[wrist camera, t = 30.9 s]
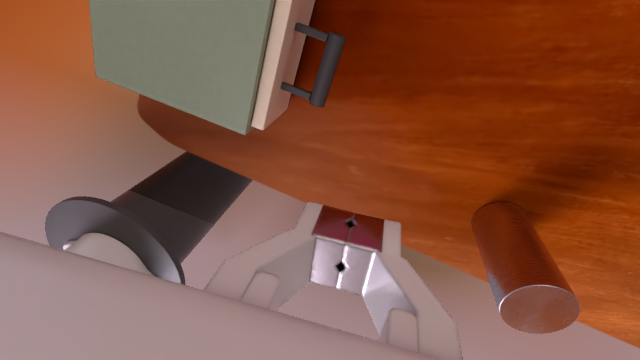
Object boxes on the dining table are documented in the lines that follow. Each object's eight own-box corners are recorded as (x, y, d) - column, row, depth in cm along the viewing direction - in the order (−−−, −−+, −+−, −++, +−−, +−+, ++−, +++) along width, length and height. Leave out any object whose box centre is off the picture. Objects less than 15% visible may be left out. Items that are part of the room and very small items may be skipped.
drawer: (366, -6, 27) (356, -9, 21) (323, 123, 33) (306, 148, 27) (179, -74, 28) (120, -96, 22) (172, 65, 34) (125, 77, 28)
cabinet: (312, -34, 27) (280, -48, 20) (278, 108, 35) (245, 135, 27) (162, -89, 28) (78, -122, 21) (159, 62, 35) (95, 76, 28)
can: (507, 248, 36) (548, 342, 26) (462, 230, 37) (485, 317, 26) (538, 213, 34) (598, 303, 23) (489, 193, 34) (527, 275, 24)
